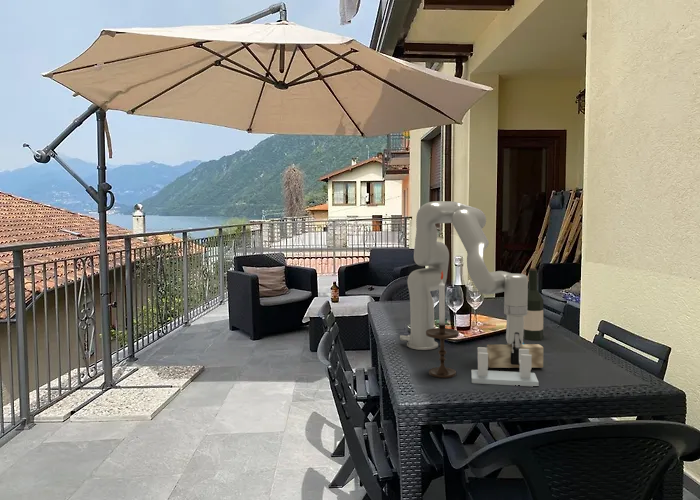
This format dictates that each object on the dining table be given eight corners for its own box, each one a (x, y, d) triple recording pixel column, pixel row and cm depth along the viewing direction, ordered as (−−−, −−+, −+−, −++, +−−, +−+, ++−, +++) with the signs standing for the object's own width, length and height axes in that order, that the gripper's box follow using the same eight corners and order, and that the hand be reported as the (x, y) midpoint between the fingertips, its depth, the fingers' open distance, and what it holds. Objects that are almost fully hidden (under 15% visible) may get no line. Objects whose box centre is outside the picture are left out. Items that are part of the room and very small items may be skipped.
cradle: (471, 383, 157) (471, 353, 156) (471, 374, 165) (471, 346, 165) (538, 386, 152) (538, 356, 152) (534, 377, 161) (534, 348, 160)
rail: (489, 367, 169) (490, 347, 168) (486, 364, 173) (487, 344, 172) (543, 367, 168) (543, 347, 168) (538, 363, 172) (539, 344, 172)
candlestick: (436, 366, 174) (435, 268, 171) (464, 372, 167) (464, 269, 165) (420, 375, 166) (419, 271, 163) (449, 381, 159) (448, 273, 156)
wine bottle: (521, 339, 208) (522, 269, 206) (522, 335, 216) (523, 267, 214) (542, 341, 205) (543, 269, 203) (543, 336, 213) (543, 267, 211)
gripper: (502, 304, 178) (501, 354, 180) (506, 314, 162) (505, 369, 163) (524, 305, 176) (523, 355, 178) (530, 315, 160) (529, 370, 161)
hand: (514, 361), depth 170 cm, fingers closed on rail, 4 cm apart
